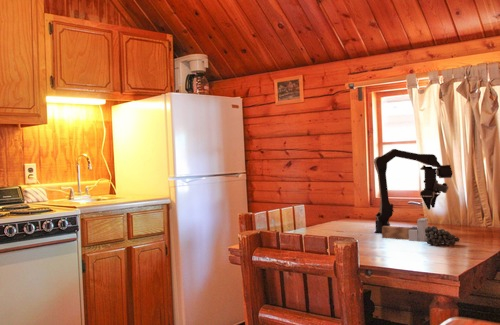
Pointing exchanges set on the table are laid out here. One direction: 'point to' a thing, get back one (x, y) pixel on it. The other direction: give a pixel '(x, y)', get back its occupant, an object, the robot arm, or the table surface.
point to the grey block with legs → (419, 230)
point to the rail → (396, 232)
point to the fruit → (439, 236)
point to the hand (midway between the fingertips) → (431, 208)
